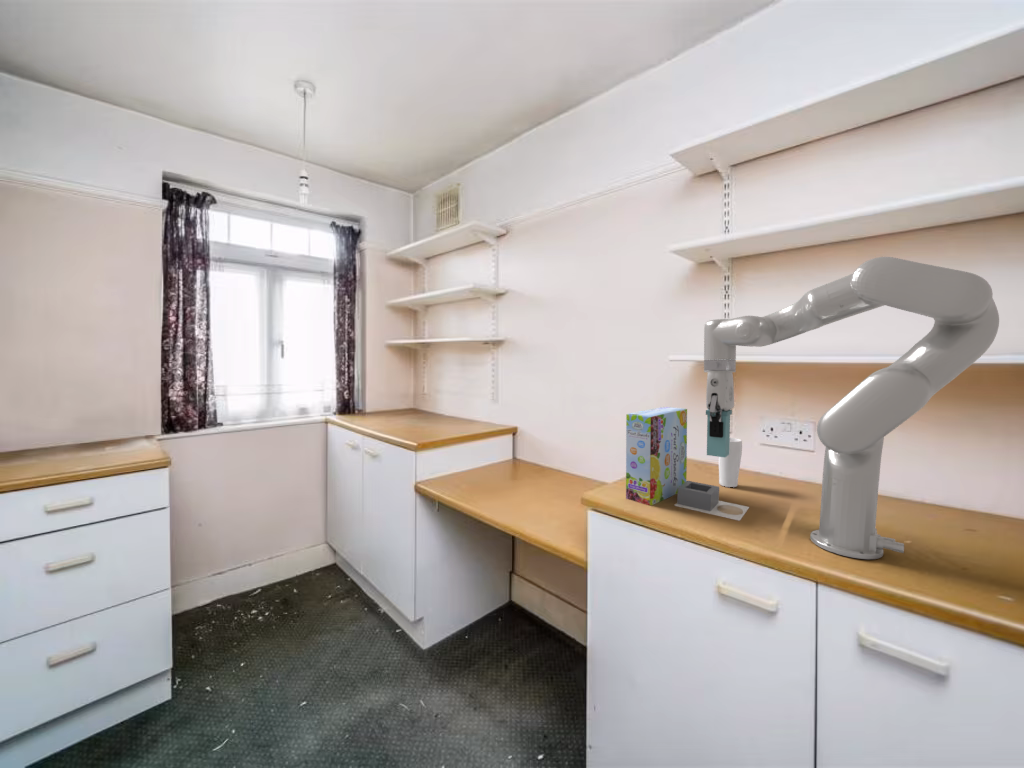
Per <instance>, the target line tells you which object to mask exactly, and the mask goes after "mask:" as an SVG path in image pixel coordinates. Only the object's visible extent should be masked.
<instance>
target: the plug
mask: <svg viewBox="0 0 1024 768" xmlns="http://www.w3.org/2000/svg"><path fill="white" fill-rule="evenodd" d="M716 410H720V409H716ZM717 413H718V414H719V412H717ZM732 414H733V409H730V410H727V411H724V409H723V411H722V422H723V437H722V438H719V437H710V435H709V433H710V410H709V409H706V410H705V415H706V416H707V418H706V419H707V423H706V425H707V426H706V456H710V457H717V458H718V457H727V456H728V455H729V444H730V438H731V437H730V436H731V435H730V434H731V415H732Z"/></svg>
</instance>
